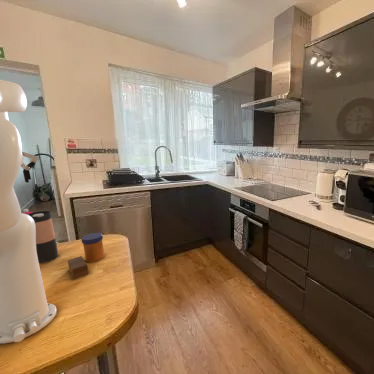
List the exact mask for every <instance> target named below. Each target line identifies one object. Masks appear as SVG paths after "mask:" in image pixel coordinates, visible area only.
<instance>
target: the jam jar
mask: <svg viewBox="0 0 374 374" xmlns="http://www.w3.org/2000/svg"><path fill="white" fill-rule="evenodd" d="M82 245H83V252H84V257H85V262H86V263H93V262H95V263H96V262H98V261H101V260H103V259H104V258H105V250H104V249H105V248H104V241H103V239H102V240H101V241H99V242H97V243H93V244H83V243H82Z"/></svg>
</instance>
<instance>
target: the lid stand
mask: <svg viewBox="0 0 374 374" xmlns="http://www.w3.org/2000/svg"><path fill="white" fill-rule="evenodd" d="M67 265H68V270H69V272H70V274H71V276H72V278H73V280H76V279H79V278H82V277H85V276H87V275H89V273H90V272H89V267H88V264H87V261H86V260H85V259H84V258H83V256H82V255H80V256H77V257H73V258H70V259H68V260H67Z"/></svg>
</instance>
